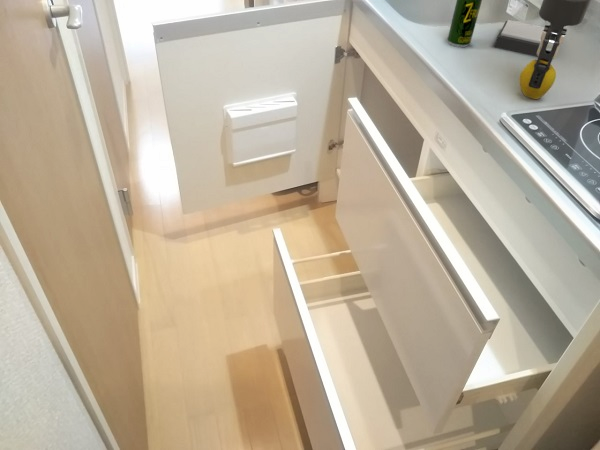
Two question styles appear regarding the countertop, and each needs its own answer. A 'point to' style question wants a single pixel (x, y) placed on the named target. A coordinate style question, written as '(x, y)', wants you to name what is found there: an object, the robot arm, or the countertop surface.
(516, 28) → the scale
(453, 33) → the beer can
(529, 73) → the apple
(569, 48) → the countertop surface
